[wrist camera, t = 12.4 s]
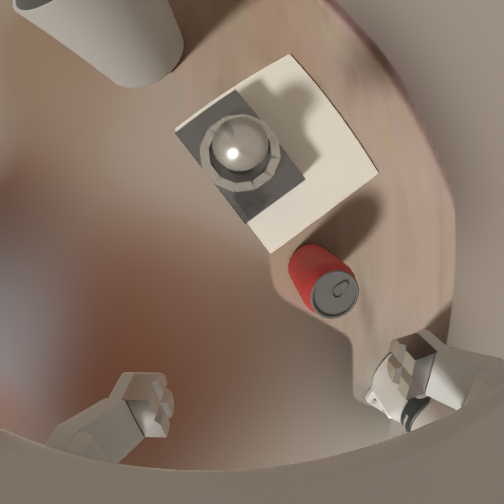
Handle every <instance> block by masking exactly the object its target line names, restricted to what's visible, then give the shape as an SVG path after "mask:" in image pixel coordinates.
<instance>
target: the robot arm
mask: <svg viewBox="0 0 504 504" xmlns="http://www.w3.org/2000/svg"><path fill="white" fill-rule="evenodd" d="M389 350H390V351H391V354H390V355H388V356H387V357H386V358H385V360H384V361H383V362H382V363H381V365H380V366H379V367H378V369H377V371H376V373H375V375H374V378H373V383H372V386H371V388H370V389H369V391H368V392H367V394H366V396H365V399H366V401H367V402H368V403H370V404H371V405H373V406H374V407H376V408H377V409H379V410H381V411H382V412H384V413H385V414H386V415H387V416H388V418H392V419H393V420H395V421H397V422H399V423H401V424H402V425H403V427H404V429H405V431H406V432H407V433H405V434H403V435H400V436H397V437H394V438H392V439H389V440H386V441H383V442H380V443H377V444H374V445H371V446H368V447H364V448H361V449H358V450H354V451H350V452H347V453H343V454H339V455H335V456H330V457H326V458H322V459H317V460H312V461H307V462H301V463H295V464H289V465H282V466H275V467H266V468H257V469H246V470H245V469H244V470H225V471H186V470H184V471H183V470H167V469H155V468H145V467H137V466H129V465H123V464H117V463H118V462H119V461H120V460H121V459H122V458H124V457H125V455H127V454H128V453H129V452H130V451H131V450H132V449H133V448H134V447H135V446H136V445H137V444H138V443H139V442H140V441H141V440H143V439H144V437H167V433H168V430H169V426H170V423H169V421H168V419H169V418H170V417H171V416H172V414H173V410H174V409H173V407H174V402H173V397H172V394H171V392H170V391H169V390H168V389H167V388H166V384H167V381H166V378H165V376H164V374H162V373H135V372H125V373H123V374H122V375H121V377H120V378H119V380H118V382H117V384H116V385H115V387H114V389H113V391H112V393H111V394H110V396H109V398H108V399H103V400H101V401H100V402H98V403H96V404H95V405H93V406H91V407H89V408H88V409H86V410H84V411H82V412H81V413H79V414H77V415H76V416H74V417H72V418H70V419H68V420H67V421H65V422H63V423H61V424H59V425H58V426H57V427H56V429H55V431H54V432H53V434H52V435H51V437H50V439H49V440H48V442H47V443H46V445H45V446H44V445H41V444H39V443H36V442H33V441H30V440H28V439H25V438H22V437H20V436H17V435H15V434H12V433H10V432H8V431H6V430H3V429H1V428H0V504H504V360H503V359H501V358H498V357H493V356H489V355H484V354H480V353H475V352H471V351H467V350H462V349H458V348H454V347H451V348H448V347H447V346H446V345H445V344H444V343H443V342H441V341H440V340H439V339H438V338H437V337H436V336H434V335H433V334H432V333H431V332H430V331H428V330H422V331H419V332H416V333H414V334H411V335H408V336H404V337H401V338H397V339H394V340H392V341H391V343H390V349H389Z"/></svg>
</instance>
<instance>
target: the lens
mask: <svg viewBox="0 0 504 504" xmlns="http://www.w3.org/2000/svg"><path fill="white" fill-rule="evenodd" d="M212 148H213V152H214V155H215V157H216V158H217V160H218V161H219V162H220V163H221V164H222V165H223V166H224V167H225V168H226V169H228V170H229V171H231V172H234V173H246V172H249V171H251V170H253V169H254V168H255V167H256V166H257V165H258V164H260V162H261V161H262V160H263V159H264V157H265V156H266V154H267V151H268V137H267V134H266V132H265V130H264V129H263V127H262V126H261V125H260V124H259V123H257V122H256V121H254V120H252V119H249V118H245V117H236V118H232V119H229V120H227V121H225V122H224V123H222V124H221V125H220V126H219V127H218V129H217V130H216V132H215V134H214V136H213V141H212Z"/></svg>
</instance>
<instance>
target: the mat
mask: <svg viewBox="0 0 504 504" xmlns="http://www.w3.org/2000/svg"><path fill="white" fill-rule="evenodd" d="M235 89H236V90H237V92H238V93H239V94H240V95H241V96H242V97H243V99H244V100H245V101H246V102H247V103H248V105H249V106H250V107H251V108H252V109H253V111H254V112H255V113H256V114H257V116H258V117H259V118H260V119H261V120H262V121H265V123H267V124H268V126H269V127H270V128H271V129H272V131H273V132H274V133H275V134H276V136H277V137H278V138H277V139H278V140H279V144H280V145H281V146H282V147H283V149H284V150H285V151H286V153H287V154H288V155H289V157H290V158H291V160H292V161H293V162H294V164H295V165H296V166H297V168H298V169H299V170H300V172H301V173H302V175H303V176H304V177H305V179H306V180H305V181H303V182H302V183H300V184H299V185H298V186H296V187H295V188H293V189H292V190H291V191H289V192H288V193H287V194H285V195H284V196H283V197H281V198H280V199H278V200H277V201H276V202H274V203H273V204H272V205H270V206H269V207H268V208H266V209H265V210H263V211H262V212H261V213H259V214H258V215H257V216H255V217H254V218H253V219H251V220H250V221H249V222H247V223H248V224H249V226H250V227H251V228H252V230H253V231H254V232H255V234H256V235H257V236H258V238H259V239H260V240H261V241H262V243H263V244H264V246H265V247H266V248H267V250H268V251H269V252H270V254H271V253H272V252H274V251H275V250H276V249H278V248H279V247H281V246H282V245H283V244H285V243H286V242H287V241H289V240H290V239H291V238H293V237H294V236H295V235H297V234H298V233H299V232H301V231H302V230H304V229H305V228H306V227H308V226H309V225H310V224H312V223H313V222H314V221H316V220H317V219H318V218H320V217H321V216H322V215H324V214H325V213H326V212H328V211H329V210H330V209H332V208H333V207H334V206H336V205H337V204H338V203H340V202H341V201H342V200H344V199H345V198H346V197H348V196H349V195H350V194H352V193H353V192H354V191H356V190H357V189H358V188H360V187H361V186H362V185H364V184H365V183H366V182H368V181H369V180H370V179H372V178H373V177H374V176H376V175H377V174H378V172H377V170H376V168H375V167H374V165H373V164H372V162H371V160H370V159H369V157H368V156H367V154H366V153H365V151H364V149H363V148H362V146H361V145H360V143H359V142H358V140H357V139H356V137H355V136H354V134H353V133H352V132H351V130H350V129H349V127H348V126H347V124H346V123H345V122H344V120H343V119H342V117H341V116H340V115H339V113H338V112H337V111H336V109H335V108H334V107H333V105H332V104H331V103H330V101H329V100H328V99H327V98H326V96H325V95H324V94H323V92H322V91H321V90H320V89H319V88H318V86H317V85H316V84H315V83H314V81H313V80H312V79H311V78H310V77H309V75H308V74H307V73H306V72H305V71H304V70H303V68H302V67H301V66H300V65H299V64H298V63H297V62H296V61H295V59H294V58H293V57H292V56H291V55H290V54H289V55H287V56H285V57H283V58H281V59H279V60H278V61H276V62H274V63H272V64H270V65H269V66H267V67H265V68H263V69H262V70H260V71H258V72H257V73H255V74H253V75H252V76H250V77H248V78H247V79H245V80H244V81H242V82H240V83H239V84H237V85H236V86H234V87H233V88H231V89H230V90H228V91H227V92H225V93H224V94H222V95H221V96H219V97H218V98H216V99H215V100H213V101H212V102H210V103H209V104H208V105H206V106H205V107H203V108H202V109H201V110H199V111H198V112H197V113H195V114H194V115H192V116H191V117H190V118H188V119H187V120H186V121H185V122H183V123H182V124H181V125H179V126H178V127H177V128H176V129H175V130H176V131H178V130H179V129H180V128H182V127H183V126H184V125H186V124H187V123H188V122H190V121H191V120H192V119H194V118H195V117H196V116H198V115H199V114H200V113H202V112H203V111H204V110H206V109H207V108H209V107H210V106H211V105H213V104H214V103H216V102H217V101H219V100H220V99H222V98H223V97H225V96H226V95H228V94H229V93H231V92H232V91H234V90H235Z"/></svg>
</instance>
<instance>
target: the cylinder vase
mask: <svg viewBox="0 0 504 504" xmlns="http://www.w3.org/2000/svg"><path fill="white" fill-rule="evenodd" d="M13 8H14V10H15V11H16V12H17V13H19V14H20V15H22V16H23V17H25V18H26V19H28V20H29V21H31V22H32V23H34V24H35V25H37V26H38V27H40V28H41V29H43V30H44V31H46V32H47V33H48V34H50V35H51V36H53V37H54V38H55V39H57V40H58V41H60V42H61V43H62V44H64V45H65V46H67V47H68V48H69V49H71V50H72V51H74V52H75V53H76V54H78V55H79V56H80V57H82V58H83V59H84V60H86V61H87V62H89V63H90V64H91V65H92V66H94V67H95V68H96V69H98V70H99V71H101V72H102V73H103V74H104V75H106V76H107V77H108V78H110V79H111V80H112V81H113V82H115V83H116V84H118V85H120V86H123V87H127V88H140V87H144V86H148V85H151V84H153V83H155V82H157V81H159V80H161V79H162V78H163V77H165V76H166V75H167V74H169V73H170V72H171V71H172V70H173V69H174V67H175V66H176V65H177V63H178V62H179V60H180V58H181V56H182V53H183V48H184V41H183V37H182V34H181V32H180V29H179V26H178V24H177V21H176V19H175V16H174V14H173V11H172V9H171V6H170V4H169V1H168V0H13Z"/></svg>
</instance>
